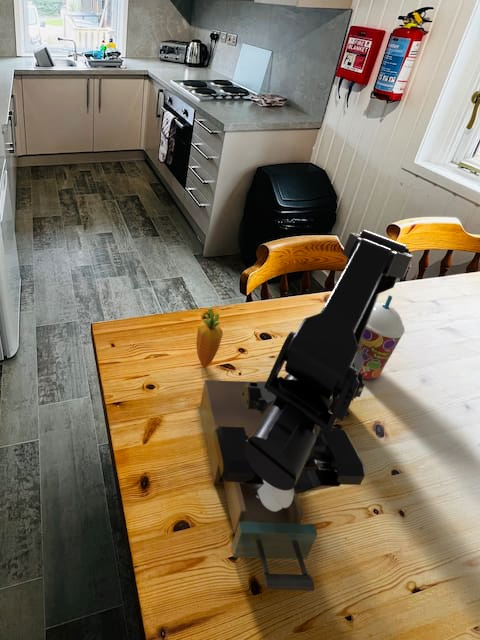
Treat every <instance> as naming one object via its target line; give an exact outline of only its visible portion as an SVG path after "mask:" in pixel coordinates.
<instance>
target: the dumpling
mask: <svg viewBox="0 0 480 640" xmlns="http://www.w3.org/2000/svg"><path fill="white" fill-rule="evenodd" d="M263 482H264V485H263V486H262V487H261V488H260V489H259V490H258V491H257V492H258V495H259V497H258V496H257V495H256V497H257V498H260V500H261V502H262V504H263V505H264V506H265V507H266V508H267V509H269V510H271V511H274V512H276V511H278V510H280V509H282V507H283V508H287V507H289V506H290V504H291V503H292V500H293V496H294V488H292V489H291V490H280V489H277V488H275V487H273V486H271V485H270V484H268V483H267V482H266V481H264V480H263Z"/></svg>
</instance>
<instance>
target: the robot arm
mask: <svg viewBox="0 0 480 640" xmlns="http://www.w3.org/2000/svg"><path fill="white" fill-rule="evenodd" d="M409 252H410V249H409V248H407V245H406V244H403V243H401V242H398V241H395V240H393V239H390V238H388V237H385V236H382V235H380V234H378V233H374V232H372V231H369V230H366V229H363V230H362V231H360V232H359V234H358V233H356V232H350V233H349V235H348V238H347V240H346V242H345V244H344V248H343V249H342V253H341V254H342V255H343V256H345V257H346V258H347V259H346V262H345V266H344V267H345V268H344V270H343V271H342V273H341V275H340V277H339V278H338V281H337V282H336V284H335V286H334V287H333V289H332V291H331V293H330V295H329V297H328V299H327V300H326V302H325V304H324V306H323V308H322V309H321V311H320V312H319V313H316V314H313V315H311V316H307V317H305V318H304V319H303V320H302V321H301V323H300V325H299V327H298V329H297V330H296V332H294V331H290V333H288V335H287V337H286V338H285V340H284V342H283V344H282V346H281V348H280V351H279V353H278V355H277V357H276V359H275V362H274V364H273V365H272V369H271V370H270V372H269V375H268V377H267V379H266V381H261V380H260V381H259V380H258V381H244V382H245V384H244V386H243V391H242V398H243V401H244V403H245V405H246V407H247V409H249V410H256V411H258V412H259V414H260V416H261V418H260V420H259V422H258V423H257V425H256V426H255V428H254V429H253V431H252V432H251V434H250V435H249V436H246V432H245V429H244V427H243V426H242V425H223V424H218V425H217V426H216V428H215V429H214V434H213V440H214V444H215V449H216V453H217V458H218V463H219V467H220V472H221V476H222V478H223V479H225V480H226V481H227V482H242V483H243V484H246V485H249V488H250V491H251V493H255V492H257V491H258V490H259V489H260V488H261V487H262V486H263V485H264V482H263V480H264V481H266V482H267V483H268V484H270V485H271V486H273V487H275V488H277V489H280V490H291V489H292V488H294V491H295V493H296V494H298V495H302V494H307V493H310V492H315V491H319V490H324V489H329V488H338V487H341V485H343V486H344V485H345V486H361V485H362V482H363V480H364V478H365V476H366V474H367V473H366V468H365V467H366V466H365V464H364V462H363V460H362V458H361V456H360V454H359V453H358V450H357V448H356V447H355V445H354V443H353V441H352V438H351V436H350V435H349V434H348V432H347V430H345V429H343V428H340V427H334V426H335V424H336V421H337V420H339V421H340V422H344V420H345V418H346V417H350V412H349V409H350V406H351V403H352V402H353V401H354V400H355V399H356V398H360V397H361V395H362V393H363V390H364V388H365V386H366V385H365V384H366V383H365V382H364V378H363V376H364V375H363V374H362V373H360V371H361V368H362V366H363V363H364V360H363V357H362V355H361V353H360V350H359V348H358V347H359V345H360V342H361V339H362V337H363V334H364V332H365V329H366V327H367V324H368V321H369V319H370V316H371V314H372V311H373V309H374V306H375V304H376V302H378V298H379V296H380V294H382V293H384V292H386V291H389V290H391V289H393V288H394V287H395V285H396V283H397V281H398V279H400V280H404V278H405V277H406V274H407V271H408V269H409V266H410V265H411V262H412V260H413V257H414V255H413V254H410V253H409ZM284 365H285V367H284V372H285V373H286V376H284V377H282V376H279V374H280V372H281V370H282V369H283V366H284Z"/></svg>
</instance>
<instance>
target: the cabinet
mask: <svg viewBox="0 0 480 640" xmlns="http://www.w3.org/2000/svg"><path fill="white" fill-rule="evenodd" d="M245 382H246V381H245V380H244V381H241V380H216V379H212V380H211V379H205V380H204V383H203V384H204V385H203V389H202V393H201V399H200V404H199V408H198V409H199V417H200V421H201V425H202V431H203V436H204V441H205V447H206V452H207V457H208V462H209V468H210V472H211V477H212V483H213V485H220V486H221V485H223V486H224V484H223V479H222V476H221V472H220V467H219V463H218V458H217V453H216V449H215V444H214V440H213V434H214V429H215V428H216V426H217V425H218V424H223V425H242V426H243V427H244V429H245V432H246V436H249V435H250V434H251V432H252V431H253V429H254V428H255V426H256V425H257V423H258V422H259V420H260V418H261V416H260V414H259V412H258V411H256V410H249V409H247V407H246V405H245V403H244V401H243V398H242V391H243V386H244V384H245Z"/></svg>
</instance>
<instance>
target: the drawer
mask: <svg viewBox="0 0 480 640" xmlns="http://www.w3.org/2000/svg"><path fill="white" fill-rule="evenodd" d="M222 479H223V478H222ZM223 484H224V485H223V488H224V492H225V497H226V498H225V499H226V503H227V507H228V511H229V516H230V521H231V526H232V530H233V531H232V532H233V534H234V536H233V540H232V543H231V552H232V556H233V557H232V558H243V559H260V564H261V568H262V572H263V574H262V583H263V587H264V589H265V590H267V591H301V592H314V591H315V582H314V579H313V577H312V575H311V574H309V573H308V569H307V566H306V564H305V560H307V559H308V558H309V555H310V553H311V551H312V548H313V546H314V544H315V542H316V539H317V537H318V535H319V534H318V532H317V529H316V527H315V524H314V523H302V519H303V516H304V514H305V511H304V509H303V506H302V504H301V499H300V498H299V494H296V493H295V491H294V496H293V500H292V503H291V504H290V506H289V507H287V508H283V507H282V509H280V510H278V511H276V512H274V511H271V510H269V509H267V508H266V507H265V506H264V505H263V504H262V502H261V500H260V498H257V497H256V495H257V496H258V497H259V495H258V492H255V493H251V491H250V488H249V485H246V484H243V483H242V482H227V481H226V480H225V479H223ZM267 559H278V560H279V559H280V560H281V559H283V560H297V562H298V566H299V569H300V572H301V574H299V573H298V574H297V573H296V574H295V573H270V570H269V569H270V568H269V566H268V562H267Z"/></svg>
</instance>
